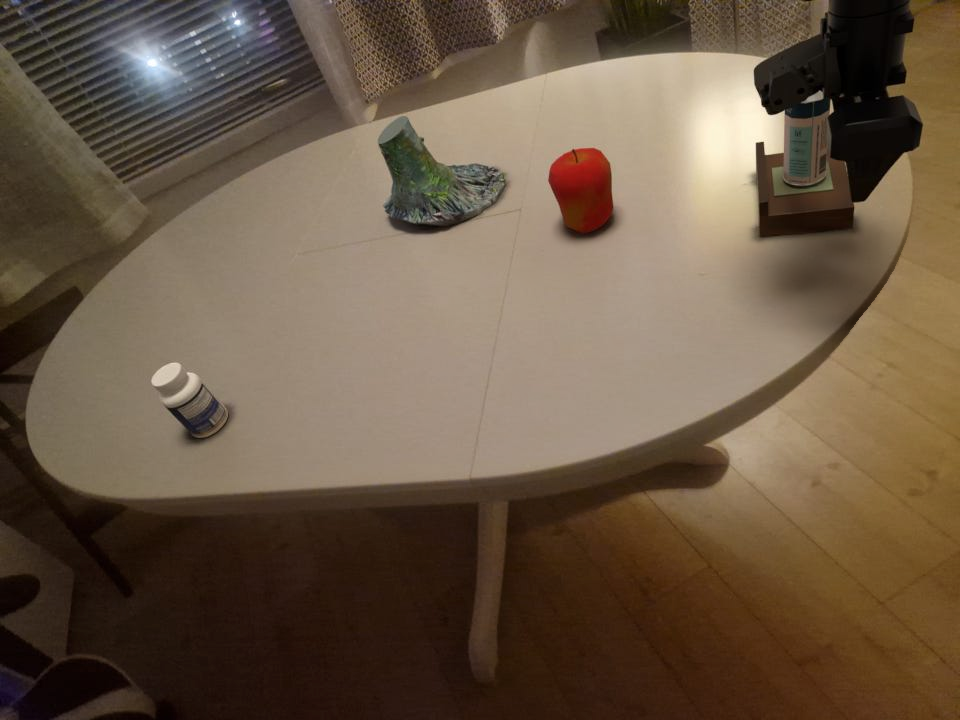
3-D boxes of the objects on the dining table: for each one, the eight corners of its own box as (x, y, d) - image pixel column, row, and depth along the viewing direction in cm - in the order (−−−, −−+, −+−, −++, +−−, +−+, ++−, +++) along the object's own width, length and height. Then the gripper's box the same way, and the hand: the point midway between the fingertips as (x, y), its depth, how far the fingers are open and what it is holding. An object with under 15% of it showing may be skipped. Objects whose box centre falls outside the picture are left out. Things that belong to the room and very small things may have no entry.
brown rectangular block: (839, 165, 85) (841, 130, 82) (852, 228, 76) (856, 191, 72) (756, 175, 89) (755, 142, 85) (759, 237, 80) (759, 202, 76)
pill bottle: (189, 423, 88) (143, 374, 81) (224, 401, 89) (182, 351, 82) (195, 446, 84) (148, 397, 77) (233, 423, 85) (189, 372, 78)
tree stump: (519, 206, 102) (459, 115, 90) (415, 271, 107) (346, 192, 95) (496, 154, 115) (441, 68, 103) (405, 213, 120) (342, 138, 108)
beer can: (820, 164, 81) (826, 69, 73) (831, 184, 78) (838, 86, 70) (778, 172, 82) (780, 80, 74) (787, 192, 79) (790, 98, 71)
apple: (618, 236, 88) (604, 159, 80) (558, 245, 91) (538, 171, 83) (621, 201, 94) (607, 126, 86) (564, 210, 97) (546, 138, 89)
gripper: (755, -14, 61) (757, 138, 71) (763, 73, 49) (764, 241, 59) (894, -45, 57) (874, 121, 67) (939, 41, 45) (907, 228, 55)
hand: (851, 174), depth 62 cm, fingers open, 9 cm apart
